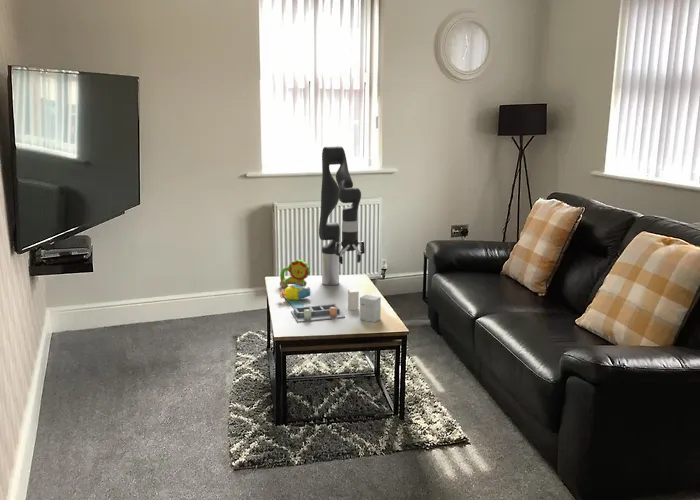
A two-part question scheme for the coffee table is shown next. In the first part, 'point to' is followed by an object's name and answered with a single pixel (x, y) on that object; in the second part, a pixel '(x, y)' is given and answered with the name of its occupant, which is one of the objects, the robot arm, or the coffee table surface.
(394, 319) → the coffee table surface
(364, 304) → the small box
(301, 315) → the grey compartment tray
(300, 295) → the blue yellow plastic figure
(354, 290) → the plug
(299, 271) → the toy lion
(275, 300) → the coffee table surface
